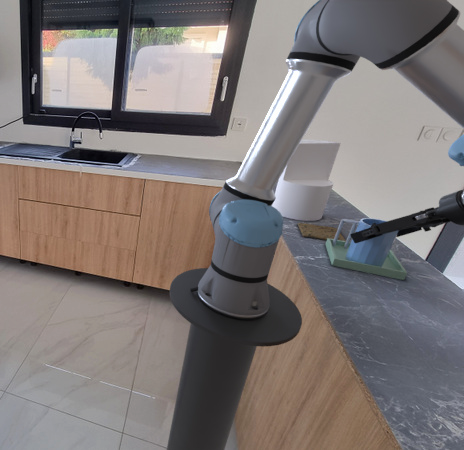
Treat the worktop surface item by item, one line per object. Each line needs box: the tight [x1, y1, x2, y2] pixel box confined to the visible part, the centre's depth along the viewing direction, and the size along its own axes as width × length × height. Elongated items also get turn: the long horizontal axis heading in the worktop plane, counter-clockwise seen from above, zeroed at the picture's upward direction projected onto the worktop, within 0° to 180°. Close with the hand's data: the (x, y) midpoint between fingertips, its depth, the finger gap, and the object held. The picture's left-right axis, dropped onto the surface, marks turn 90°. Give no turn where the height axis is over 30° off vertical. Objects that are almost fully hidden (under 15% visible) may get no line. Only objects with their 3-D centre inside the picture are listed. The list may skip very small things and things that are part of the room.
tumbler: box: [346, 217, 399, 267], centre depth 88 cm, size 8×8×12 cm
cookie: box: [297, 222, 347, 241], centre depth 109 cm, size 12×12×1 cm
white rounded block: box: [272, 139, 341, 222], centre depth 122 cm, size 17×17×28 cm
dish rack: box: [324, 218, 408, 281], centre depth 90 cm, size 15×15×10 cm
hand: (372, 236), depth 87 cm, fingers open, 13 cm apart
